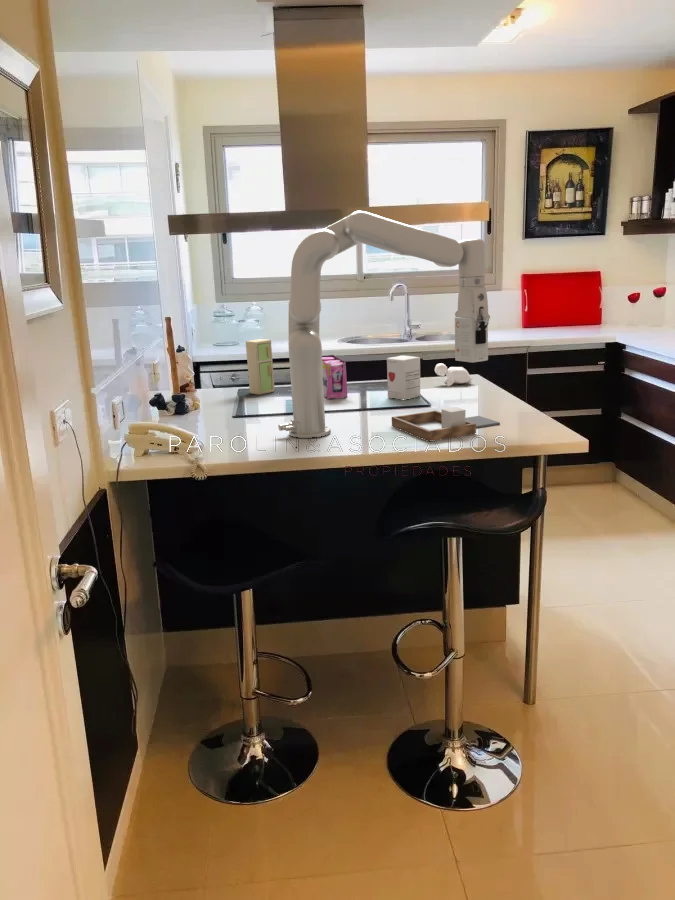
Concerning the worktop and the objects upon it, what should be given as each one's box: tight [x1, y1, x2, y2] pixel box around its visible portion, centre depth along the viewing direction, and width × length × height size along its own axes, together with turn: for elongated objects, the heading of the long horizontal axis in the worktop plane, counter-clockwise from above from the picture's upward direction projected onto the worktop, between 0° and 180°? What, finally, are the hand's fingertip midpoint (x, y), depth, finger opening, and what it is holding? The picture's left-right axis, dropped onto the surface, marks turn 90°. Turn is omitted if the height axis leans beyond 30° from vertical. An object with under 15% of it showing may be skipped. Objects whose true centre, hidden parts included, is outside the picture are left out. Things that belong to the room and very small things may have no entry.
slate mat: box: [465, 415, 501, 429], centre depth 216 cm, size 11×11×1 cm
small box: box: [454, 316, 489, 363], centre depth 209 cm, size 8×6×13 cm
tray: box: [391, 409, 477, 442], centre depth 210 cm, size 16×22×3 cm
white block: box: [441, 406, 466, 428], centre depth 206 cm, size 5×5×7 cm
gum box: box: [322, 354, 348, 400], centre depth 272 cm, size 24×8×14 cm, turn 12°
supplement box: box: [386, 355, 421, 401], centre depth 258 cm, size 9×9×15 cm
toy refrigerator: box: [245, 338, 276, 395], centre depth 279 cm, size 8×7×21 cm
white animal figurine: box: [434, 362, 473, 387], centre depth 280 cm, size 9×8×15 cm
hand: (472, 342), depth 209 cm, fingers closed on small box, 8 cm apart
